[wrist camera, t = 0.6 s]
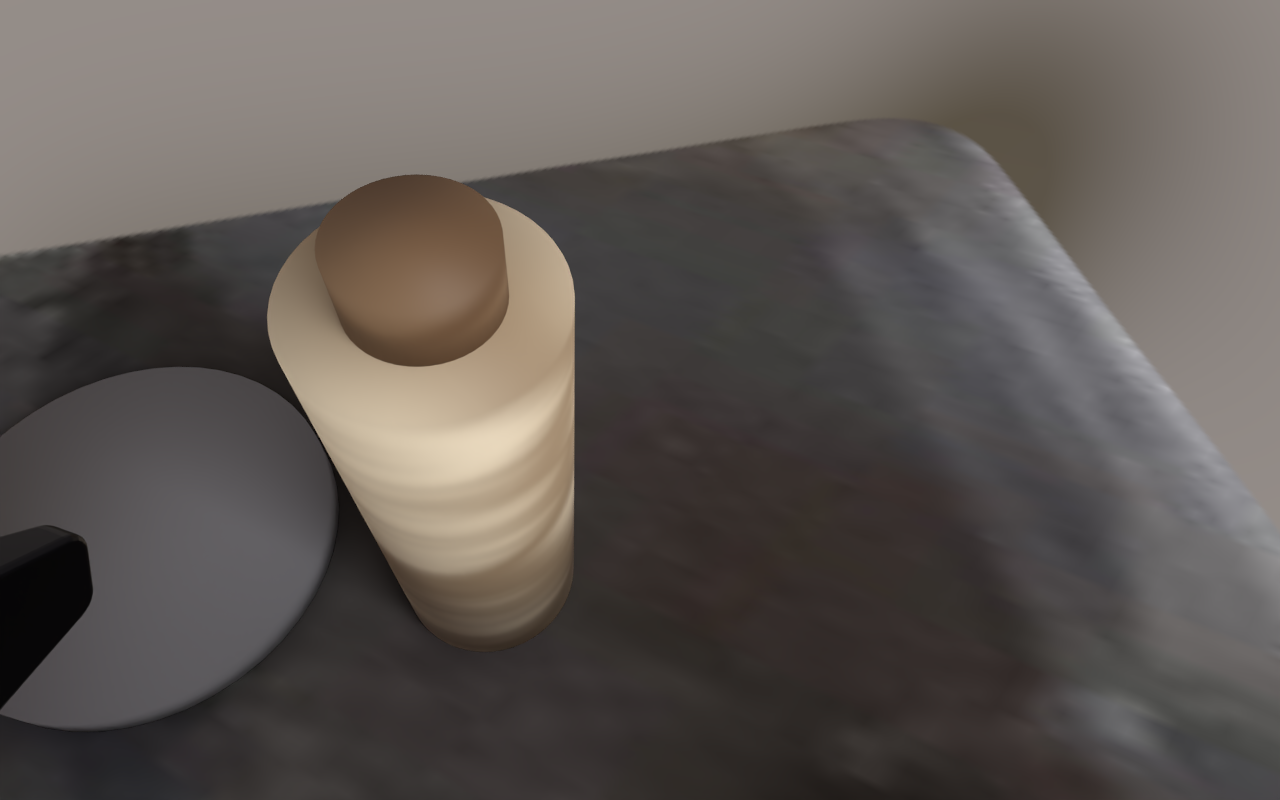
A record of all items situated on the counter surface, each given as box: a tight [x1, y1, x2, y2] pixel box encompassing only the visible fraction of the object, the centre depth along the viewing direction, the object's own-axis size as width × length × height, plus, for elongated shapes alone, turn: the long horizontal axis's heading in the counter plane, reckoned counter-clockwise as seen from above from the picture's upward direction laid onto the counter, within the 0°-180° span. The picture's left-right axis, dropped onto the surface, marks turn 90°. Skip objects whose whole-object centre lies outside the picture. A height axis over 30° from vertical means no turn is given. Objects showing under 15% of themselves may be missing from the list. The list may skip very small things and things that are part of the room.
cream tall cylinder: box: [267, 175, 575, 652], centre depth 18 cm, size 5×5×14 cm
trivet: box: [0, 367, 339, 732], centre depth 24 cm, size 11×11×1 cm
